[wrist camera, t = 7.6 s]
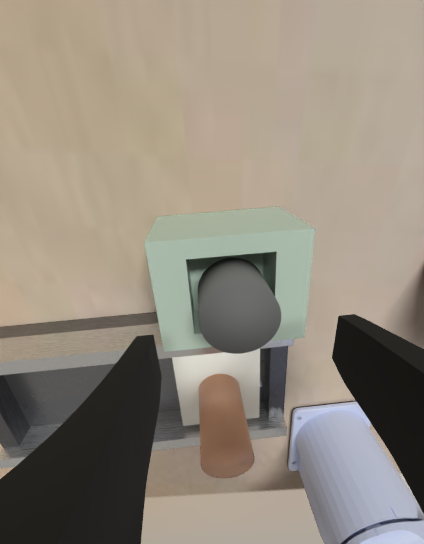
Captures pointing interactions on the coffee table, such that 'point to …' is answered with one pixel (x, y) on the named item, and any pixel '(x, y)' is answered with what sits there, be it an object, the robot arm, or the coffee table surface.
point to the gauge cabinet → (220, 245)
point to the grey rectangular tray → (92, 370)
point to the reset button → (236, 307)
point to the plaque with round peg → (220, 407)
